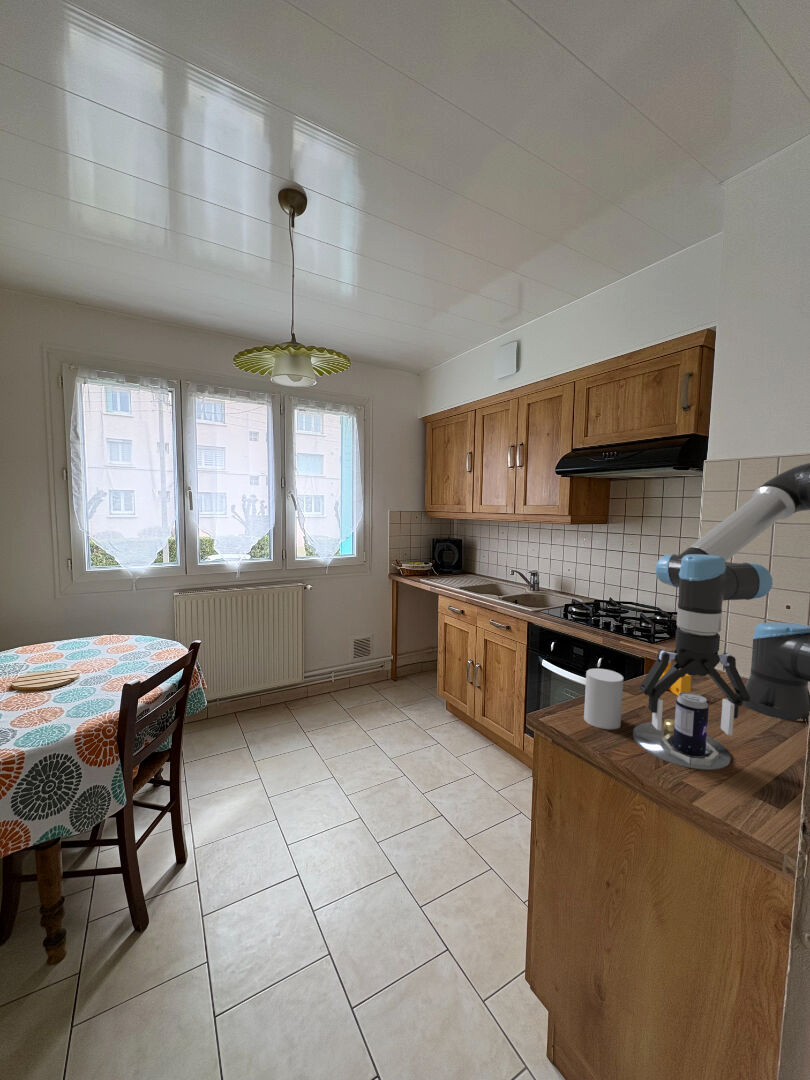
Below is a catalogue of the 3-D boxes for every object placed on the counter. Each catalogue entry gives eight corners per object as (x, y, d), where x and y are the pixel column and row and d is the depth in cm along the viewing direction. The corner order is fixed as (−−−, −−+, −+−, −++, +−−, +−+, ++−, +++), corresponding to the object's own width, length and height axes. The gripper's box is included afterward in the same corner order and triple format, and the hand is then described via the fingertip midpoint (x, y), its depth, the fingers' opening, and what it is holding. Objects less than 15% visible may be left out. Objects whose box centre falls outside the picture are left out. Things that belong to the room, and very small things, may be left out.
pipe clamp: (651, 680, 134) (652, 659, 133) (665, 680, 134) (667, 660, 133) (673, 697, 122) (675, 675, 122) (689, 698, 122) (691, 675, 121)
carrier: (701, 730, 104) (702, 713, 103) (750, 776, 86) (752, 756, 86) (621, 724, 106) (622, 707, 106) (652, 768, 88) (654, 748, 88)
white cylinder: (625, 722, 107) (627, 674, 106) (613, 735, 101) (616, 684, 100) (591, 711, 112) (593, 666, 111) (578, 722, 106) (581, 674, 106)
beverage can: (705, 763, 88) (710, 705, 87) (672, 754, 91) (676, 699, 90) (704, 750, 93) (708, 695, 92) (672, 742, 96) (676, 689, 95)
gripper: (752, 627, 92) (744, 725, 94) (626, 622, 95) (621, 716, 97) (777, 638, 85) (768, 744, 86) (640, 632, 88) (634, 733, 89)
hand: (690, 729), depth 92 cm, fingers open, 13 cm apart
